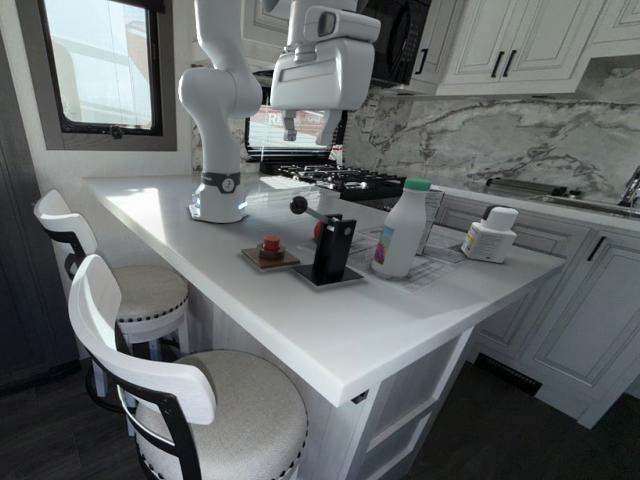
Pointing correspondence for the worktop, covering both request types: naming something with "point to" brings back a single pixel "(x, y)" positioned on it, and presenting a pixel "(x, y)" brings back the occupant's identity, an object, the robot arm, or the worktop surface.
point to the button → (271, 243)
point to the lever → (310, 211)
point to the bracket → (331, 254)
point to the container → (491, 235)
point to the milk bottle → (402, 230)
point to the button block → (270, 257)
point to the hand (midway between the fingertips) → (304, 143)
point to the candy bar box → (430, 213)
